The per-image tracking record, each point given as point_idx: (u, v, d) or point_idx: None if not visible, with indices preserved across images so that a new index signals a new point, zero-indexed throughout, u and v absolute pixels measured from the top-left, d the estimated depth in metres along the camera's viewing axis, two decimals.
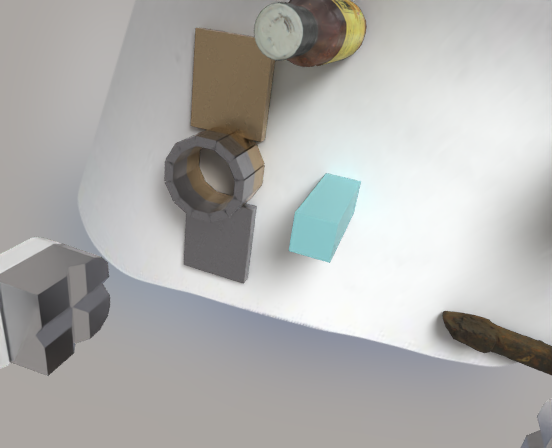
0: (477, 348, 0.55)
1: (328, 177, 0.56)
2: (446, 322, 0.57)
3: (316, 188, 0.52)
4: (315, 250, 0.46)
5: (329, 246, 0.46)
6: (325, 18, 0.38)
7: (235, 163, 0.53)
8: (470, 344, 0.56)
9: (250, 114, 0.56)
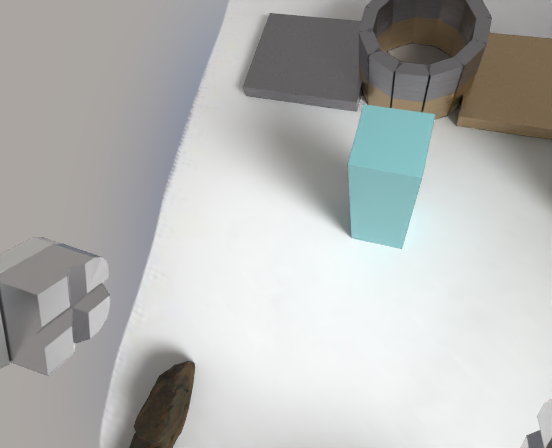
0: (142, 414, 0.34)
1: None
2: (183, 365, 0.37)
3: None
4: (368, 143, 0.28)
5: (377, 163, 0.28)
6: None
7: (454, 65, 0.37)
8: (149, 402, 0.35)
9: (498, 105, 0.41)
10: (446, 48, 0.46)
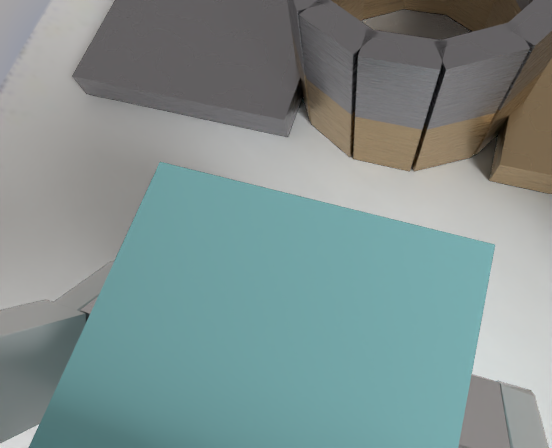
0: None
1: None
2: None
3: None
4: (136, 381, 0.05)
5: None
6: None
7: (507, 45, 0.14)
8: None
9: None
10: (472, 21, 0.23)
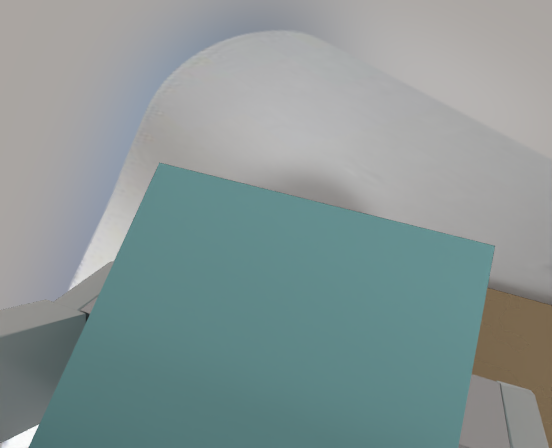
0: None
1: None
2: None
3: None
4: (135, 382, 0.05)
5: None
6: None
7: None
8: None
9: None
10: None
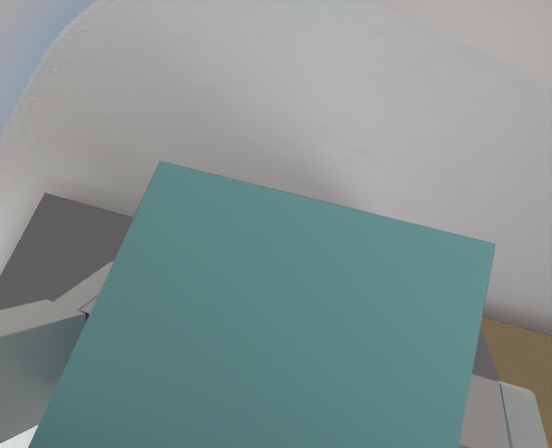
0: None
1: None
2: None
3: None
4: (135, 380, 0.05)
5: None
6: None
7: None
8: None
9: None
10: None
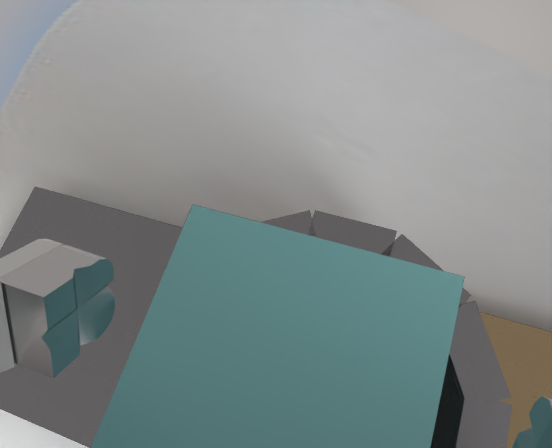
0: None
1: None
2: None
3: None
4: (178, 385, 0.07)
5: None
6: None
7: None
8: None
9: None
10: None
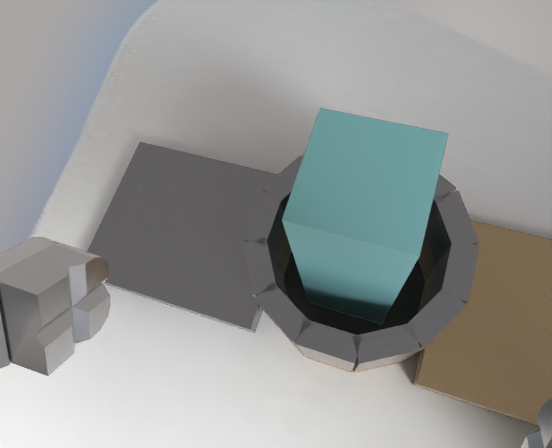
0: None
1: None
2: None
3: None
4: (323, 181, 0.15)
5: (336, 221, 0.15)
6: None
7: (405, 345, 0.20)
8: None
9: (485, 370, 0.24)
10: None
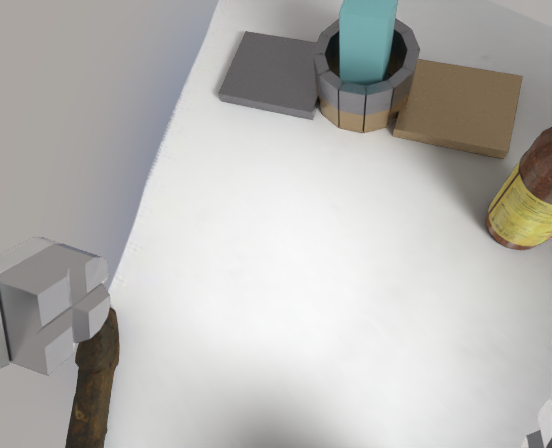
0: (79, 350, 0.43)
1: (386, 79, 0.53)
2: None
3: None
4: (354, 0, 0.41)
5: (359, 12, 0.41)
6: None
7: (386, 87, 0.46)
8: None
9: (426, 121, 0.50)
10: (390, 71, 0.54)
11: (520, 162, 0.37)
